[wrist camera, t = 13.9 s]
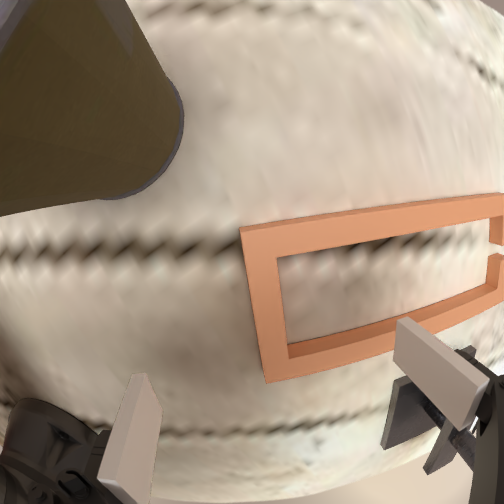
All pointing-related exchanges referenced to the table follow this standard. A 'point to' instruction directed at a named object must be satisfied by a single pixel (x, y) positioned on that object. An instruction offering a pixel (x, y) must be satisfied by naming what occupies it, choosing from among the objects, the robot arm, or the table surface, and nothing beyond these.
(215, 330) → the table surface
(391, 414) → the stand
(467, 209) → the link
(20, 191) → the canister
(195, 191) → the table surface
